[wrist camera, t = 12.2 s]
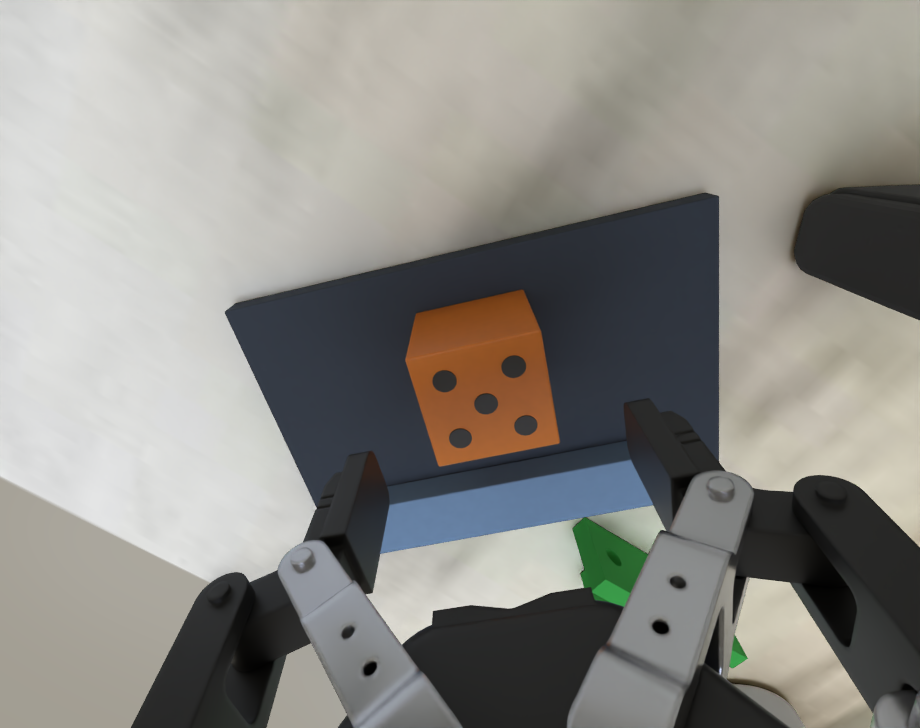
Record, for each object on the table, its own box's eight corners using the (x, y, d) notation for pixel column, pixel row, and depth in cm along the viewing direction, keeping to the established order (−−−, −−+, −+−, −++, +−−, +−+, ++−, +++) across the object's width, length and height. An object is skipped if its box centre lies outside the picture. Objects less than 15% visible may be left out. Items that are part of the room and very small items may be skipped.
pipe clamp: (544, 552, 30) (557, 618, 26) (584, 515, 29) (605, 579, 25) (669, 623, 33) (700, 693, 29) (711, 592, 32) (749, 660, 27)
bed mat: (234, 303, 23) (207, 324, 20) (706, 192, 21) (740, 200, 18) (339, 532, 29) (328, 570, 27) (708, 464, 27) (734, 498, 25)
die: (415, 312, 22) (404, 359, 17) (523, 288, 21) (541, 330, 17) (441, 405, 24) (438, 468, 19) (540, 384, 24) (560, 444, 19)
